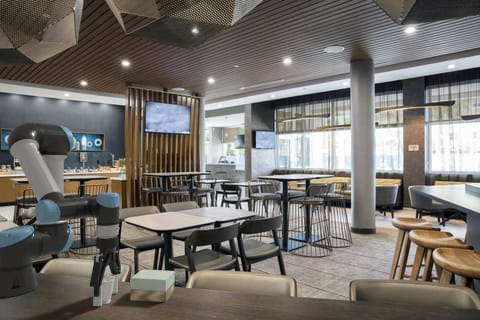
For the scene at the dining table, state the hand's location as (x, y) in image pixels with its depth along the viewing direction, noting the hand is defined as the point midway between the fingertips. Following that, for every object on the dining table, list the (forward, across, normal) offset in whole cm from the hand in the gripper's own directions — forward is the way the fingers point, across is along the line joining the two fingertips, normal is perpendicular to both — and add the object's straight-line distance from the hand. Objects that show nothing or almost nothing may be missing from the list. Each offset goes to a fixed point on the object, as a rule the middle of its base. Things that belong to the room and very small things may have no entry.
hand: (106, 298), depth 115 cm
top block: (-3, +6, -15) cm, 17 cm away
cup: (+1, 0, 0) cm, 1 cm away
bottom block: (+1, +6, -15) cm, 16 cm away
